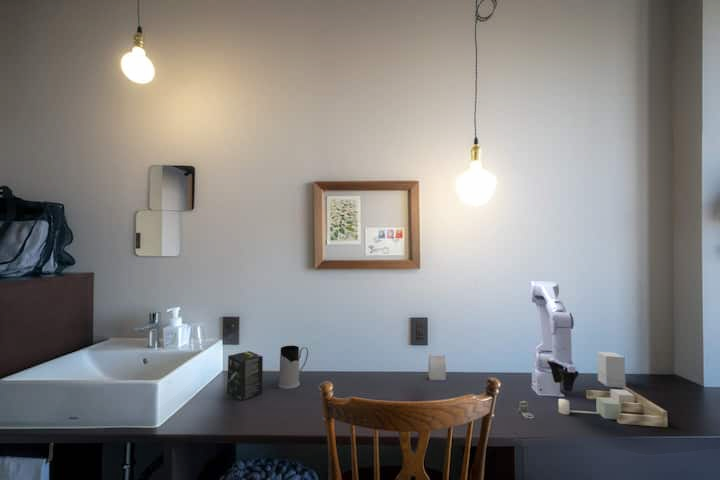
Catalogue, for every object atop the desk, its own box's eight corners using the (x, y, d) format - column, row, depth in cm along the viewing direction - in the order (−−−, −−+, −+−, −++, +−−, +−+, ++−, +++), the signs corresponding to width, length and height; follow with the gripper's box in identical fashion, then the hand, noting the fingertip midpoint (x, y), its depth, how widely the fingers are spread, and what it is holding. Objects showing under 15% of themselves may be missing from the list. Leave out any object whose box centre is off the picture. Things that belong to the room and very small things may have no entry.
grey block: (619, 408, 119) (618, 394, 119) (610, 402, 124) (610, 389, 124) (634, 409, 118) (634, 395, 118) (625, 403, 123) (625, 389, 123)
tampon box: (263, 394, 128) (263, 355, 129) (240, 402, 121) (241, 361, 122) (248, 386, 136) (249, 350, 136) (226, 393, 129) (227, 354, 130)
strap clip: (535, 420, 110) (535, 407, 111) (526, 420, 110) (526, 407, 110) (521, 408, 119) (521, 396, 119) (513, 408, 119) (513, 396, 119)
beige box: (445, 380, 144) (445, 356, 145) (430, 380, 144) (430, 356, 145) (443, 377, 148) (443, 354, 149) (428, 377, 148) (428, 354, 149)
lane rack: (618, 423, 108) (618, 408, 108) (586, 397, 127) (586, 384, 128) (667, 427, 106) (667, 411, 106) (626, 400, 125) (626, 387, 126)
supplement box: (626, 388, 137) (625, 357, 138) (606, 386, 139) (605, 356, 139) (616, 381, 144) (615, 352, 145) (597, 380, 146) (596, 351, 146)
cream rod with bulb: (562, 415, 113) (562, 400, 113) (556, 408, 118) (555, 394, 118) (621, 419, 110) (621, 404, 110) (612, 412, 115) (611, 397, 115)
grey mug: (273, 384, 138) (274, 348, 138) (300, 375, 148) (301, 341, 149) (287, 390, 132) (287, 352, 133) (314, 380, 143) (314, 345, 143)
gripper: (541, 340, 124) (541, 378, 123) (558, 352, 109) (559, 394, 109) (561, 341, 123) (562, 379, 122) (581, 353, 108) (582, 395, 108)
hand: (562, 386), depth 115 cm, fingers open, 7 cm apart
